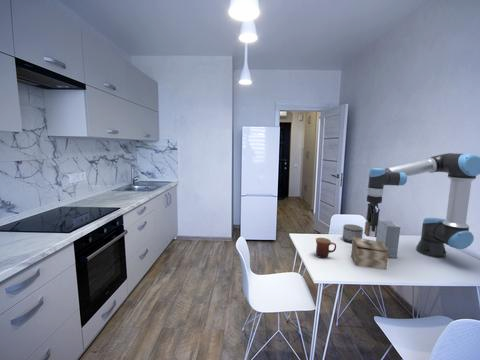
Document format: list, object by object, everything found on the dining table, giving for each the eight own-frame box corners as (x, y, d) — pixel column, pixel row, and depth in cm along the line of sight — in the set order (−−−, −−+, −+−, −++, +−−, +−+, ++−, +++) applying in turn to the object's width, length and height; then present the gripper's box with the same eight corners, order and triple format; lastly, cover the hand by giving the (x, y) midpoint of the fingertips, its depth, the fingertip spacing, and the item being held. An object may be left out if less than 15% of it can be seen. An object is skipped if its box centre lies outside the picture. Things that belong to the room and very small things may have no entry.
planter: (359, 238, 176) (360, 225, 175) (363, 245, 164) (365, 230, 162) (341, 236, 179) (342, 223, 177) (344, 243, 167) (345, 229, 165)
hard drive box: (397, 258, 145) (401, 227, 142) (383, 257, 146) (387, 226, 143) (387, 248, 160) (390, 219, 157) (374, 247, 161) (377, 218, 158)
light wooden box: (379, 259, 143) (381, 243, 142) (386, 269, 132) (388, 252, 130) (351, 256, 147) (352, 240, 145) (355, 265, 135) (357, 248, 134)
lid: (380, 243, 142) (381, 241, 141) (388, 252, 130) (388, 249, 130) (352, 238, 145) (352, 236, 145) (357, 246, 134) (357, 244, 133)
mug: (313, 257, 144) (314, 241, 143) (315, 251, 152) (316, 236, 151) (334, 261, 139) (336, 245, 138) (335, 255, 147) (336, 239, 146)
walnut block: (373, 234, 139) (374, 222, 138) (376, 237, 134) (377, 225, 133) (364, 233, 140) (365, 221, 139) (366, 236, 135) (368, 224, 134)
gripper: (363, 191, 143) (359, 228, 146) (372, 198, 126) (367, 239, 129) (376, 192, 141) (372, 230, 145) (388, 199, 124) (383, 241, 127)
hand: (370, 234), depth 137 cm, fingers closed on walnut block, 5 cm apart
